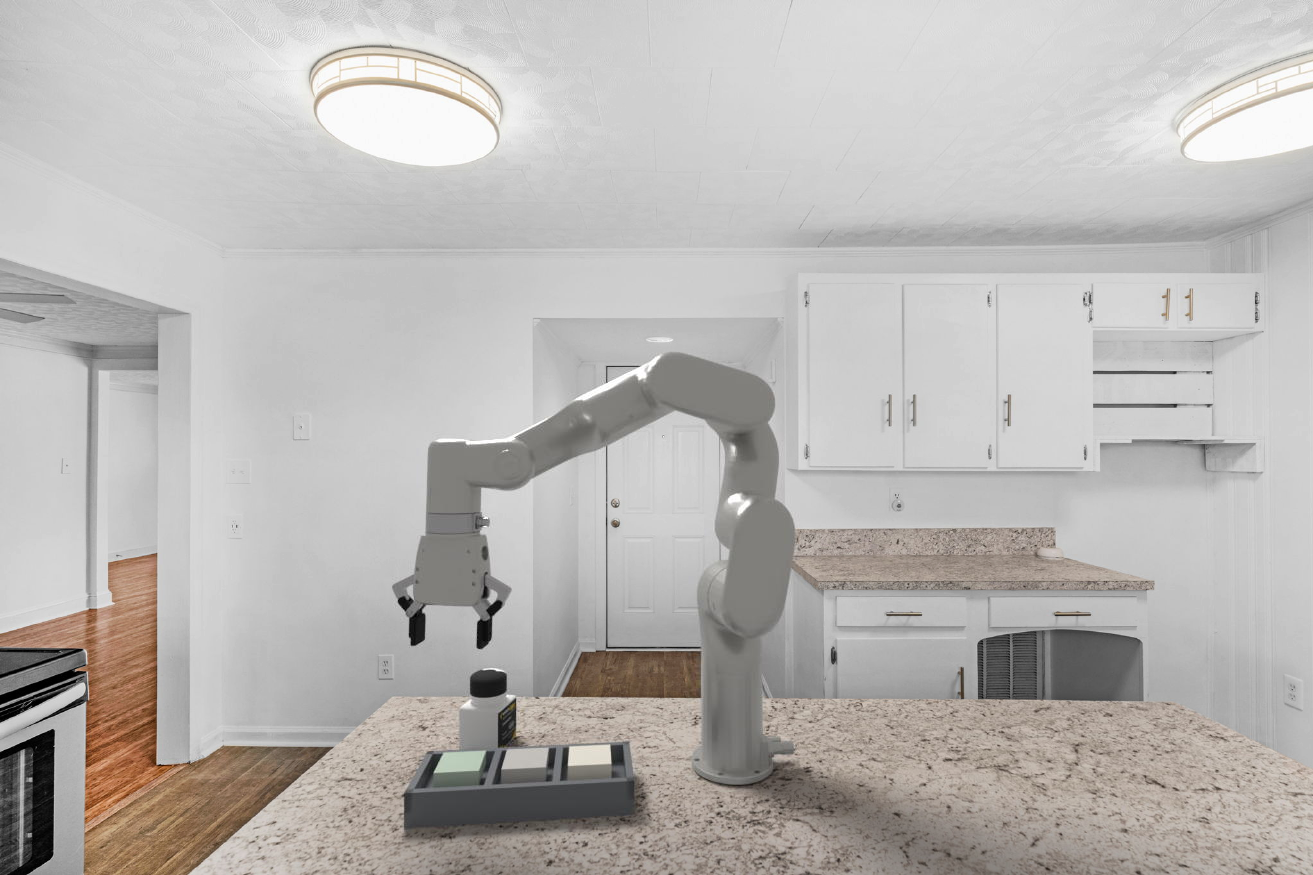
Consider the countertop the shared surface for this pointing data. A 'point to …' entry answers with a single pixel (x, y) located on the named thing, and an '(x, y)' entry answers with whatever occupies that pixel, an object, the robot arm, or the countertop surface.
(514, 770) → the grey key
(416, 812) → the grey compartment tray
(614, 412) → the robot arm
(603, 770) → the cream key
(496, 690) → the medicine bottle
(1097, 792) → the countertop surface
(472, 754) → the sage key
